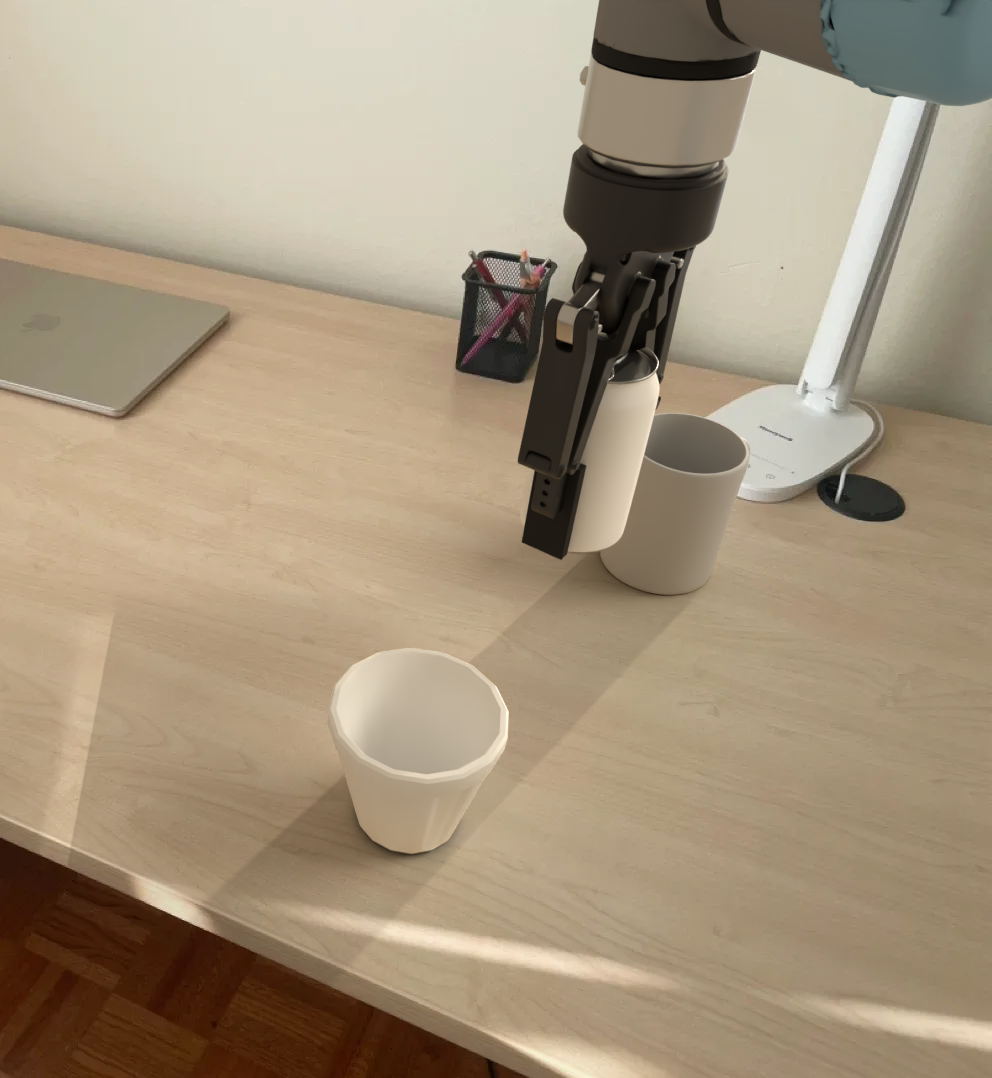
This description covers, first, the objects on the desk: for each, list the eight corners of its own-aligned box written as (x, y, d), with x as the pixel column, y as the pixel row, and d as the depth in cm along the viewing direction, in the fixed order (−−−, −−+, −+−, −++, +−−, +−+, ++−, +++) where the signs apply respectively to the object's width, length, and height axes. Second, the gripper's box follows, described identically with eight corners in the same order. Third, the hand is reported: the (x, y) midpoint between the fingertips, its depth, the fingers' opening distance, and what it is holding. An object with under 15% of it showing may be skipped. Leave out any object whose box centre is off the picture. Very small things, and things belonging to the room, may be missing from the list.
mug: (659, 611, 78) (695, 490, 71) (575, 550, 84) (601, 432, 77) (764, 555, 83) (807, 437, 76) (678, 501, 89) (712, 387, 82)
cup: (502, 886, 60) (525, 782, 54) (326, 885, 60) (330, 781, 54) (476, 749, 68) (494, 645, 62) (321, 749, 68) (324, 645, 62)
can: (501, 533, 66) (529, 364, 59) (543, 483, 70) (574, 319, 63) (600, 571, 63) (643, 398, 56) (638, 517, 68) (682, 349, 60)
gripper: (661, 92, 60) (588, 434, 74) (483, 189, 48) (437, 573, 63) (796, 118, 56) (691, 473, 71) (638, 230, 45) (551, 628, 59)
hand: (571, 519), depth 67 cm, fingers closed on can, 6 cm apart
